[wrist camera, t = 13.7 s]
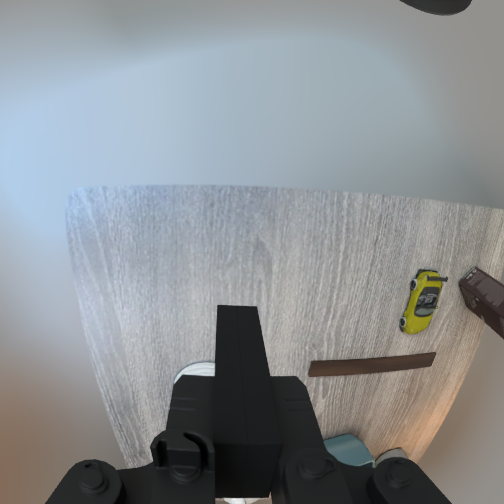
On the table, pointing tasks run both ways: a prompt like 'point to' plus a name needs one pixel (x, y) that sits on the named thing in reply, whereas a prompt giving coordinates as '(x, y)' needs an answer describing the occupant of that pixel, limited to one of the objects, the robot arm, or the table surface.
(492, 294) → the box
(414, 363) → the ruler
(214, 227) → the table surface
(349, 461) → the flower pot
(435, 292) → the sports car
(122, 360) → the table surface
